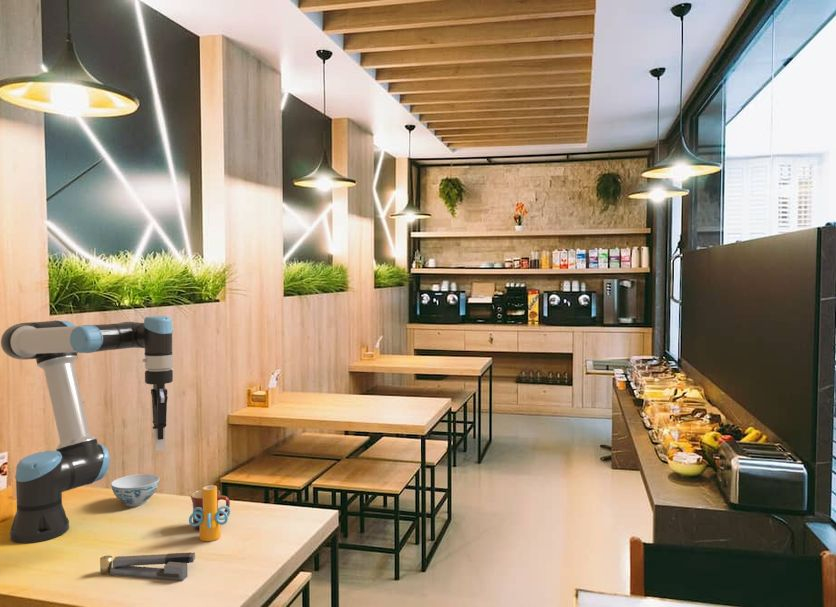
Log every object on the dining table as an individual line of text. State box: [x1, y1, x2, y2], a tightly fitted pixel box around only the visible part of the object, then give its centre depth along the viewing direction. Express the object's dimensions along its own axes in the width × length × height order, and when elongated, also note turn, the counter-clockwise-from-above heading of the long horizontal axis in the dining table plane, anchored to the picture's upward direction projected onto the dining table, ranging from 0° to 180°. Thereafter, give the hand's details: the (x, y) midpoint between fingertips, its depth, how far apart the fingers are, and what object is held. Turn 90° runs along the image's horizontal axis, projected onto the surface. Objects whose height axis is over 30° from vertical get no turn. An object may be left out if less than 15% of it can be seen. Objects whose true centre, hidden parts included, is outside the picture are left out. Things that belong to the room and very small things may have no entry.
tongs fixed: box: [99, 555, 188, 582], centre depth 161 cm, size 23×3×4 cm, turn 81°
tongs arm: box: [112, 552, 196, 567], centre depth 165 cm, size 20×3×2 cm, turn 97°
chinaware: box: [110, 473, 160, 508], centre depth 214 cm, size 15×15×8 cm
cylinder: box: [188, 484, 231, 542], centre depth 185 cm, size 12×10×15 cm
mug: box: [189, 489, 231, 530], centre depth 194 cm, size 12×9×10 cm
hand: (159, 449), depth 184 cm, fingers closed
